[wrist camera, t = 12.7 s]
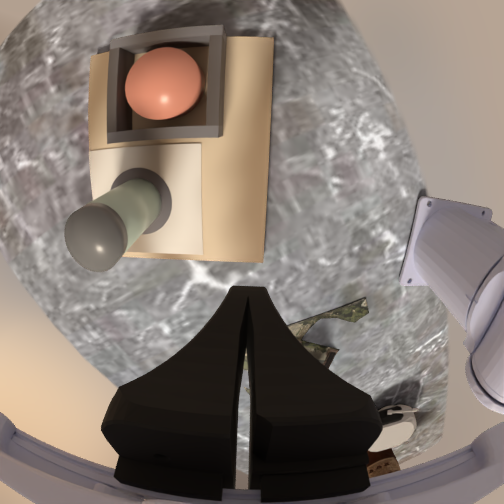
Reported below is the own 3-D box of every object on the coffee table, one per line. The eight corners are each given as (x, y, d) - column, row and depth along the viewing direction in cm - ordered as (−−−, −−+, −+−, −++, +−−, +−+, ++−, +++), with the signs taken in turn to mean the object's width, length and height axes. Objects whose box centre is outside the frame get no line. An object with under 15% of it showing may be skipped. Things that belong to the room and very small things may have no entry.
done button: (206, 51, 14) (200, 43, 13) (203, 118, 16) (197, 117, 15) (139, 58, 14) (127, 53, 13) (137, 122, 16) (124, 122, 15)
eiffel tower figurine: (365, 291, 24) (426, 414, 12) (378, 358, 28) (416, 460, 16) (213, 342, 27) (194, 469, 14) (254, 397, 31) (253, 500, 18)
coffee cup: (353, 448, 37) (366, 510, 26) (398, 434, 37) (416, 494, 25) (351, 463, 41) (361, 517, 29) (390, 451, 40) (404, 503, 28)
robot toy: (319, 445, 38) (407, 423, 35) (320, 467, 34) (412, 445, 31) (306, 413, 33) (414, 385, 30) (307, 441, 29) (423, 412, 26)
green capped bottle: (160, 177, 18) (114, 207, 12) (163, 225, 20) (125, 274, 13) (115, 179, 18) (59, 209, 12) (120, 225, 20) (72, 270, 13)
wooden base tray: (273, 40, 15) (276, 25, 12) (262, 257, 22) (263, 280, 19) (96, 57, 15) (72, 51, 12) (106, 251, 22) (88, 270, 19)
